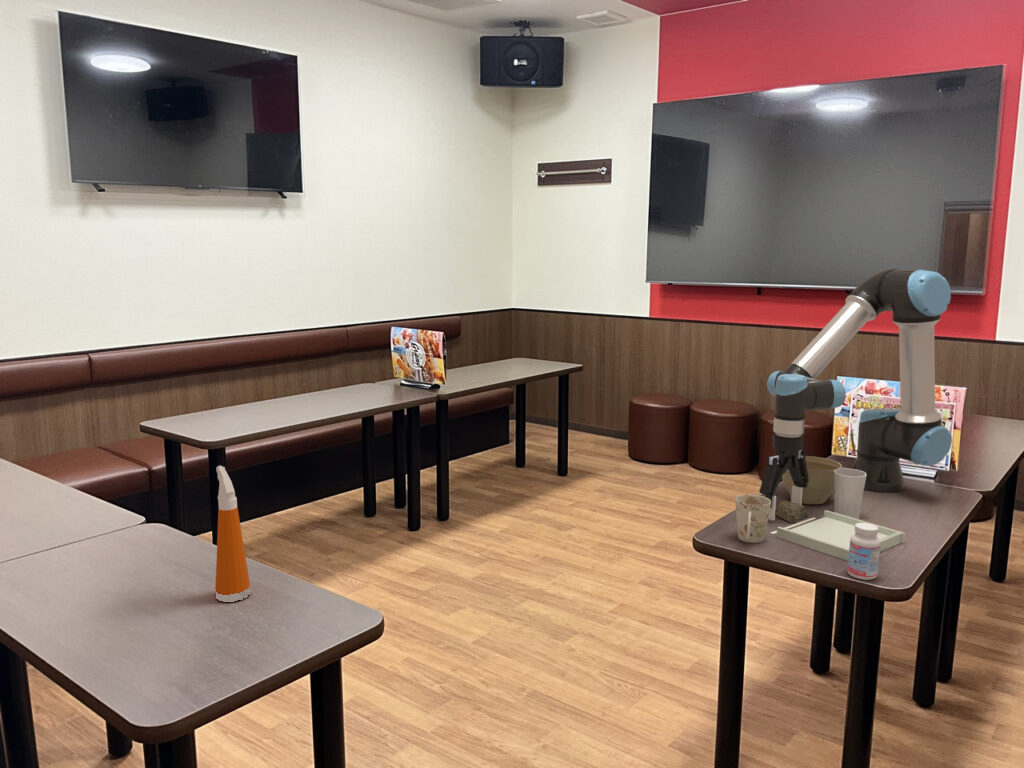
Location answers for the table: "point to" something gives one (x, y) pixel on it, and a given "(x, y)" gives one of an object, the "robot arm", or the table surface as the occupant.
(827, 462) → the planter bowl
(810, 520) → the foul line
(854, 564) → the pill bottle
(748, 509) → the mug
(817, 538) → the white square tray
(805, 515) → the rock
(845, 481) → the cup
